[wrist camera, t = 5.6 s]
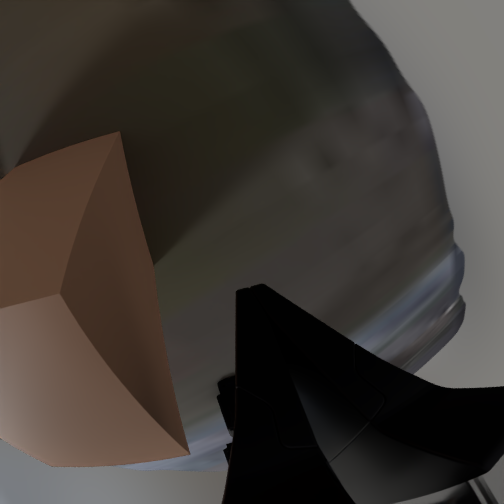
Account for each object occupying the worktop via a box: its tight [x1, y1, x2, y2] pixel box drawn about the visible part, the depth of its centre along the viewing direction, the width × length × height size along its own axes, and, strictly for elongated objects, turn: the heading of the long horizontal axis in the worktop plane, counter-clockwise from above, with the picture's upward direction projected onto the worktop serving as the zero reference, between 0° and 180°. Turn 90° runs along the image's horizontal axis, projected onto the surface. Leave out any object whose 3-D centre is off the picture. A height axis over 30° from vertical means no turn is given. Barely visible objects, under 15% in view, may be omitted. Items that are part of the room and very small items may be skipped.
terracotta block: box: [0, 131, 190, 467], centre depth 9 cm, size 6×8×11 cm
